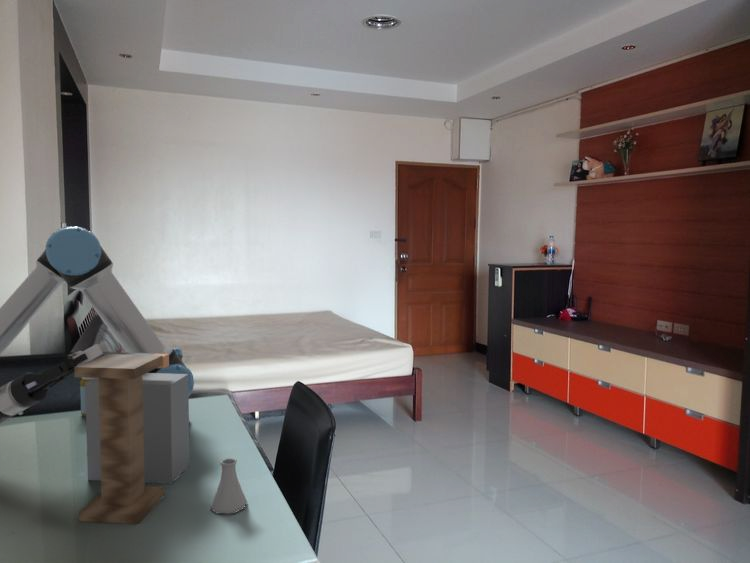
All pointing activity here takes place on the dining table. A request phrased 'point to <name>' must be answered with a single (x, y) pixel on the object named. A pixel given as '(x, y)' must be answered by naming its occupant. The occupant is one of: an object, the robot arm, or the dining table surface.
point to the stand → (121, 439)
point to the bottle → (83, 395)
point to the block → (149, 427)
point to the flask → (228, 490)
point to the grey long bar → (164, 356)
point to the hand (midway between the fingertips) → (103, 347)
